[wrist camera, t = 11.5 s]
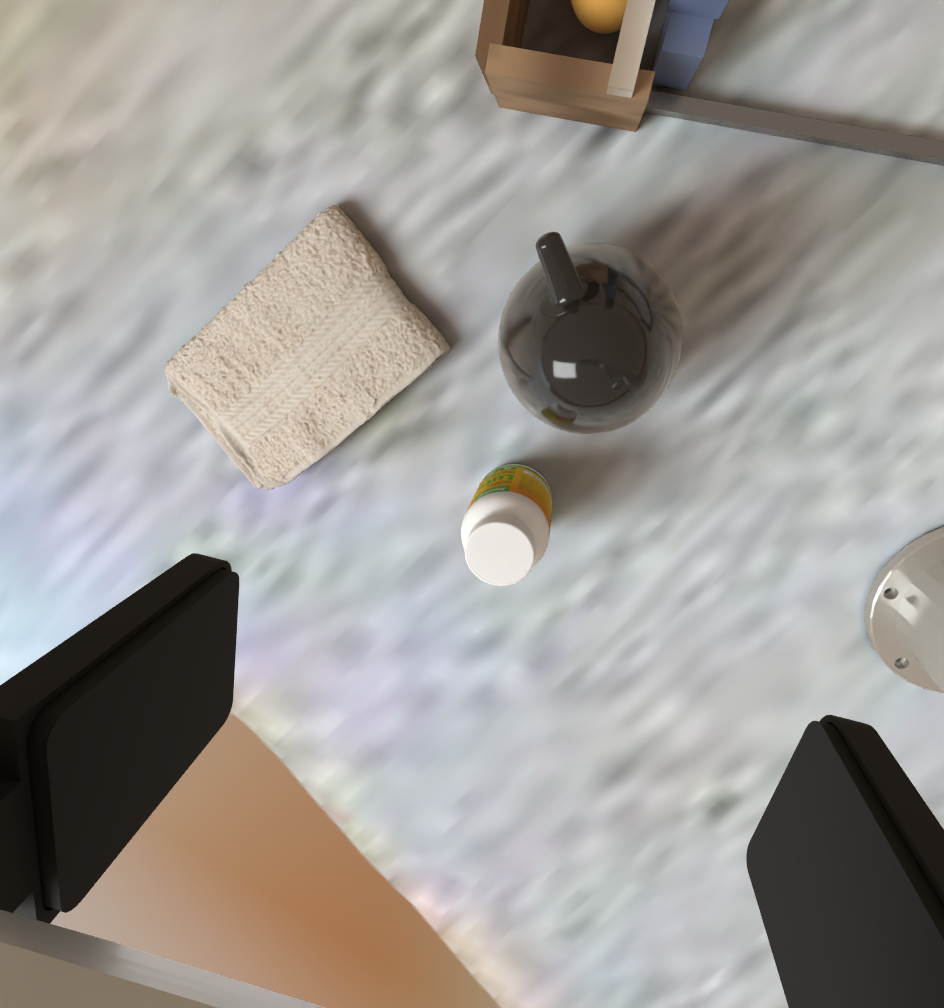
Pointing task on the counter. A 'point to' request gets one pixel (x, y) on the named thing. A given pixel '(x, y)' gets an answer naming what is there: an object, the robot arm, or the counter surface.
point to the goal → (565, 70)
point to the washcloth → (304, 353)
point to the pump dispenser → (589, 336)
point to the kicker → (684, 40)
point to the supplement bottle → (507, 524)
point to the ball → (600, 14)
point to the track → (796, 127)
